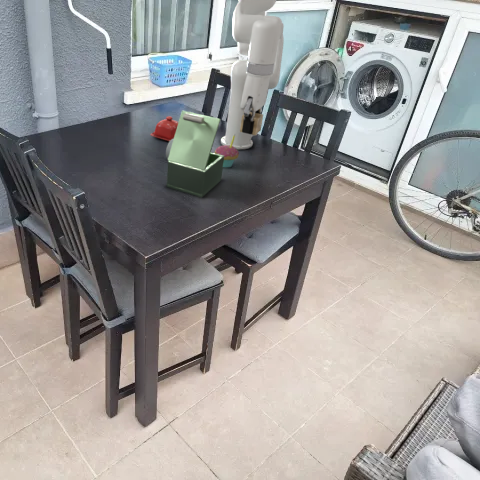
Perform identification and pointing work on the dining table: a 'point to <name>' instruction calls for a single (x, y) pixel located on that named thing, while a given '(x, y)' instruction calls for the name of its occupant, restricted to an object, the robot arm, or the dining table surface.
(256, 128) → the block
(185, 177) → the box
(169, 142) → the ceramic mug
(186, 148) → the lid
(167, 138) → the butter dish
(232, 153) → the cupcake
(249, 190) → the dining table surface
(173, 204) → the dining table surface
